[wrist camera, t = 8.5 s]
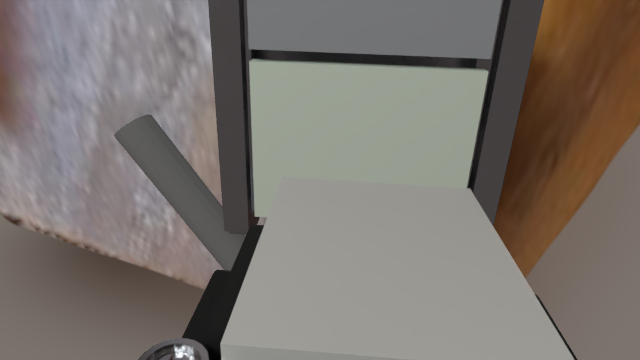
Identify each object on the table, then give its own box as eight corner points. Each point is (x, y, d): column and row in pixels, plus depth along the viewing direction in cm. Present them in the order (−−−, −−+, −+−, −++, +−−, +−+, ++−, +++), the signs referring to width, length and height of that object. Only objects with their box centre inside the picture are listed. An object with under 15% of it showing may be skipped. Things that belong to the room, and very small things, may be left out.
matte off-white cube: (469, 188, 11) (582, 373, 6) (440, 333, 13) (504, 572, 8) (282, 176, 11) (220, 344, 6) (281, 320, 14) (234, 544, 8)
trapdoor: (490, -21, 22) (506, -23, 19) (450, 209, 27) (459, 228, 25) (256, -29, 22) (245, -31, 20) (262, 198, 28) (254, 216, 25)
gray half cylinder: (247, 294, 42) (243, 307, 41) (115, 133, 36) (104, 140, 35) (283, 278, 41) (280, 290, 40) (151, 108, 35) (142, 114, 34)
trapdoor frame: (501, -69, 28) (585, -103, 18) (455, 191, 36) (496, 269, 26) (242, -76, 29) (183, -112, 19) (251, 180, 37) (213, 251, 27)
